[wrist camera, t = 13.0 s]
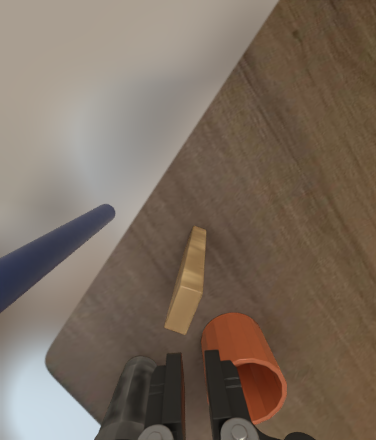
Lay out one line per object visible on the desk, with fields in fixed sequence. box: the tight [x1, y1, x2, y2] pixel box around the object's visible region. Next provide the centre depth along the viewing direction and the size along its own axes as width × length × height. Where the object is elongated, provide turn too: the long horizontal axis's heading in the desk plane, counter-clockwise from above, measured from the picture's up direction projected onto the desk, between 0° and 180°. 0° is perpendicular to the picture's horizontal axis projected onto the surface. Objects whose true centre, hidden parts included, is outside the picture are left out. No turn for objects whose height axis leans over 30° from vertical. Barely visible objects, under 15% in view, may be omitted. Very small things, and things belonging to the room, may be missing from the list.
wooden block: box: [164, 226, 206, 335], centre depth 24 cm, size 2×4×14 cm, turn 160°
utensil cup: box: [201, 313, 287, 425], centre depth 30 cm, size 8×8×8 cm
